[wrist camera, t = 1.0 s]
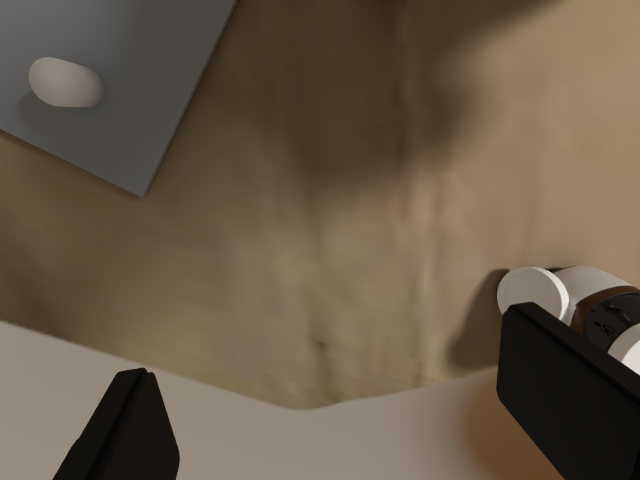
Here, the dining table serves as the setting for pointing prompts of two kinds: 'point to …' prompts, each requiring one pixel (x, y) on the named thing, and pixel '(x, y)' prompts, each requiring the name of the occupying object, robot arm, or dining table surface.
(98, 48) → the base
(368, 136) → the dining table surface
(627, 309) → the spread jar
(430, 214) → the dining table surface
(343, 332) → the dining table surface
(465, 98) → the dining table surface
